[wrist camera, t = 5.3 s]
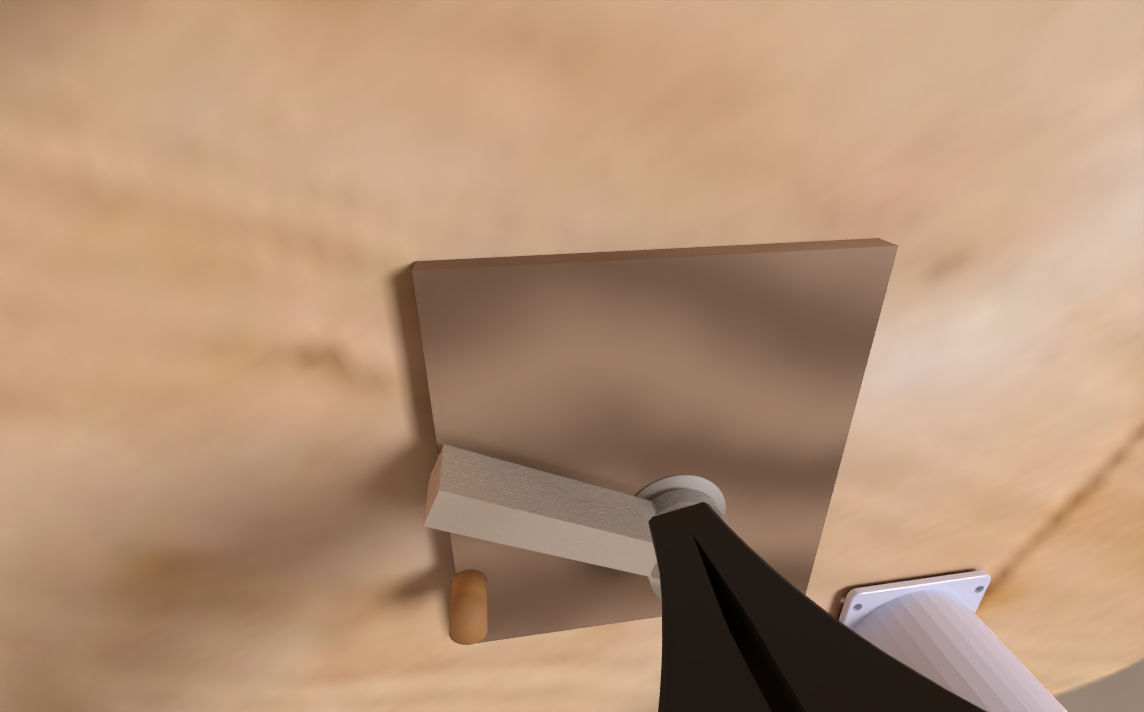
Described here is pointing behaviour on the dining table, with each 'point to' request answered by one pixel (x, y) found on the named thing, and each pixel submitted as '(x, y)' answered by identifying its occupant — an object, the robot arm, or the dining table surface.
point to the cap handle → (548, 512)
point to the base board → (648, 400)
